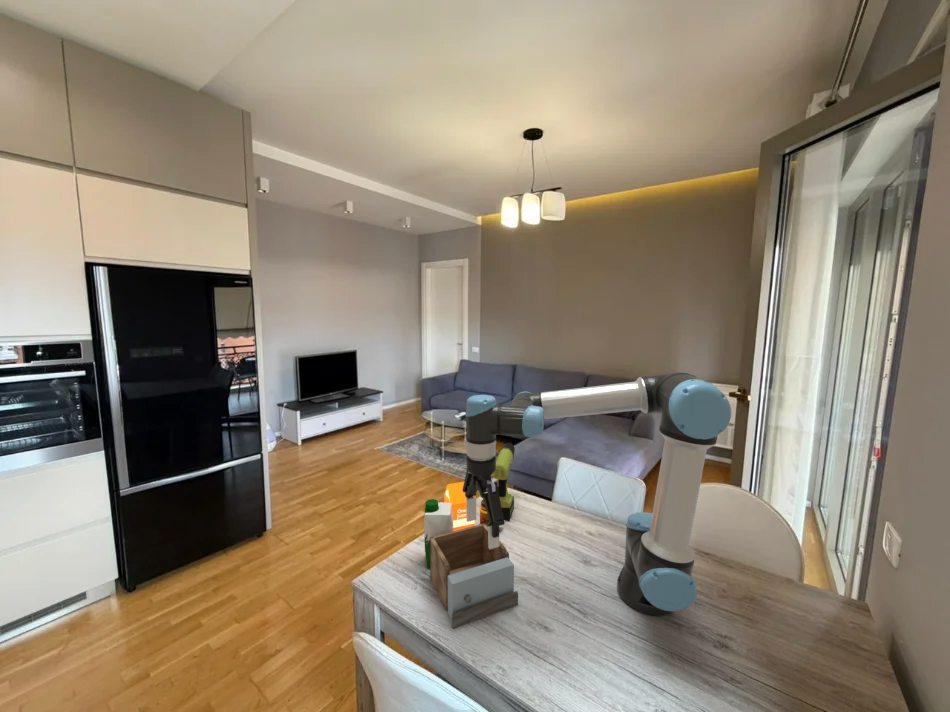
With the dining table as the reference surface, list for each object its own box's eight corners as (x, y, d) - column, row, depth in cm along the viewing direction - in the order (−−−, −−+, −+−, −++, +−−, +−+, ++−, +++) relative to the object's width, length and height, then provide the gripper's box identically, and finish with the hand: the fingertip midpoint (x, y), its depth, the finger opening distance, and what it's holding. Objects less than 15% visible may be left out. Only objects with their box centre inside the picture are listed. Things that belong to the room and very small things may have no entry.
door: (515, 604, 105) (516, 567, 104) (454, 627, 98) (454, 587, 97) (507, 592, 110) (507, 557, 108) (447, 613, 102) (447, 575, 101)
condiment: (475, 535, 137) (475, 503, 136) (485, 523, 145) (485, 493, 143) (493, 540, 134) (494, 508, 132) (503, 528, 141) (503, 497, 140)
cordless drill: (502, 493, 168) (502, 438, 164) (518, 495, 166) (519, 439, 163) (489, 522, 145) (490, 458, 142) (508, 524, 144) (509, 460, 140)
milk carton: (426, 552, 127) (425, 495, 125) (454, 552, 127) (453, 495, 125) (423, 570, 119) (422, 509, 116) (452, 570, 119) (452, 509, 116)
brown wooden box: (519, 604, 105) (520, 560, 104) (453, 628, 97) (452, 581, 96) (487, 560, 123) (487, 522, 122) (428, 578, 115) (427, 537, 114)
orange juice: (444, 532, 139) (443, 479, 136) (467, 527, 142) (467, 476, 139) (450, 545, 131) (450, 489, 129) (474, 539, 135) (474, 485, 132)
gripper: (519, 471, 89) (518, 556, 92) (474, 438, 112) (475, 507, 114) (490, 477, 86) (490, 565, 89) (450, 442, 109) (451, 513, 111)
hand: (481, 533), depth 102 cm, fingers open, 13 cm apart
